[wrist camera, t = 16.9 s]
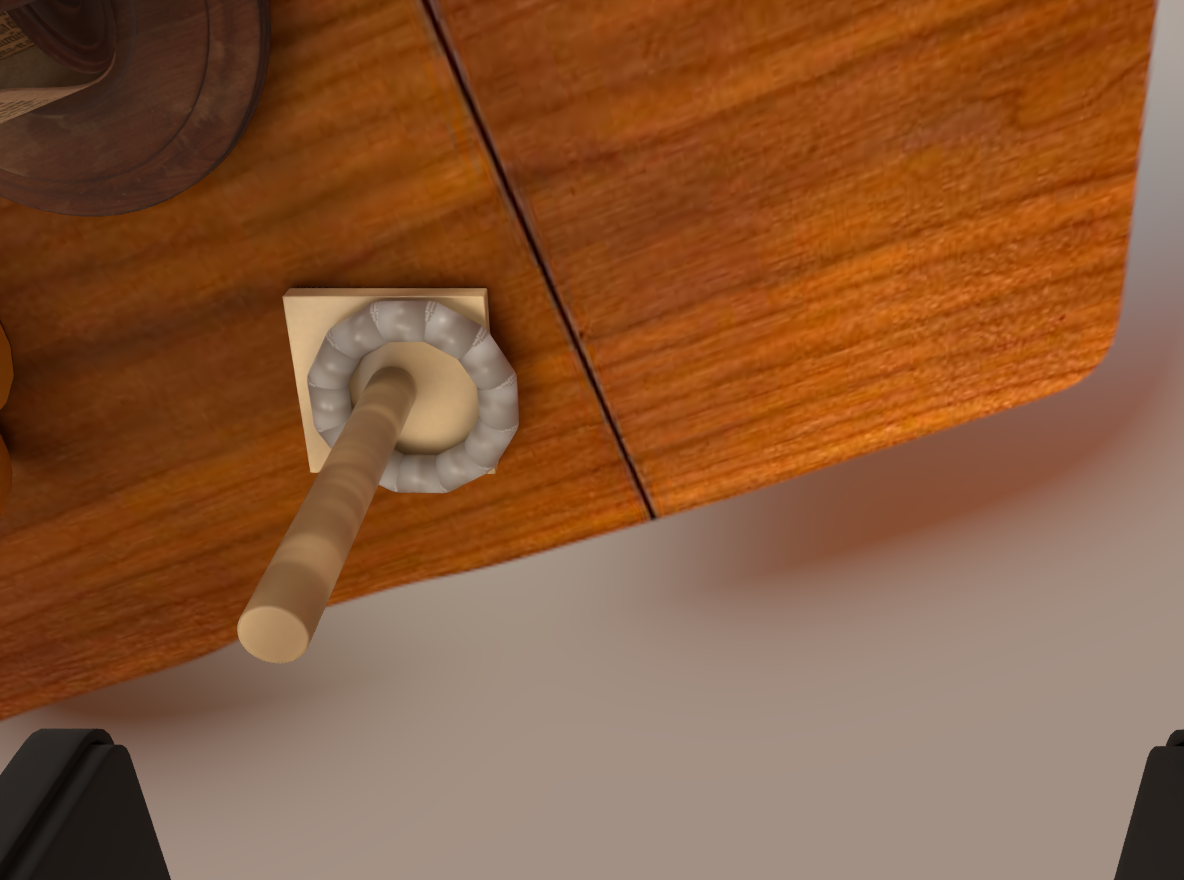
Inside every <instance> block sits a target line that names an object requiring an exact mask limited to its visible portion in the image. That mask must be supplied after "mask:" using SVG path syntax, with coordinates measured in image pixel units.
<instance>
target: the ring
mask: <svg viewBox="0 0 1184 880" xmlns="http://www.w3.org/2000/svg"><path fill="white" fill-rule="evenodd" d="M388 342H425V343H427V344H429V345H431V346H433V347H435V348H437V349H439V350H441V351H443V352H445V353H447V354H449V355H450V356H452V357H454V358H456V359H458V361H459V362H460V363H461V365H462V366H463V368H464V369H465V371H466V372H467V373H468V375H469V376H470V378H471V379H472V381H473V382H474V383H475V385H476V386H477V393H478V407H479V418H478V419H477V421H476V423H475V425H474V426H473V428H472V430H471V432H470V433H469V435H468V437H467V439H466V440H465V441H464V442H462V443H460V444H458V445H456V446H454V447H452V448H450V449H448V450H446V451H445V452H443V453H441V454H439V455H414V454H403V453H401V452H399V451H397V450H395V449H394V450H393V452H392V454H391V457H390V459H389V461H388V464H387V466H386V468H385V471H384V473H383V475H382V477H381V480H380V482H379V485H381V486H383V487H385V488H387V489H389V490H391V491H394V492H398V493H447V492H451V491H453V490H455V489H457V488H459V487H461V486H463V485H464V484H466V483H468V482H470V481H472V480H474V479H476V478H478V477H480V476H482V475H484V474H486V473H488V472H490V471H491V470H492V469H493V468H494V467H495V466H496V464H497V463H498V461H499V459H500V458H501V456H502V454H503V453H504V451H505V449H506V448H507V446H508V444H509V443H510V441H511V439H512V438H513V436H514V434H515V433H516V431H517V429H518V426H519V408H518V389H517V376H516V373H515V371H514V369H513V367H512V366H511V365H510V363H509V362H508V360H507V359H506V357H505V356H504V354H503V353H502V351H501V350H500V348H499V347H498V345H497V344H496V342H495V341H494V339H493V338H492V337H491V335H490V334H489V332H488V331H487V330H486V328H484V327H483V326H481V325H480V324H478V323H476V322H474V321H472V320H470V319H468V318H466V317H464V316H463V315H461V314H459V313H457V312H455V311H453V310H451V309H449V308H447V307H445V306H444V305H442V304H440V303H438V302H435V301H376V302H373V303H372V304H370V305H368V306H366V307H365V308H363V309H361V310H360V311H358V312H356V313H354V314H353V315H351V316H349V317H348V318H346V319H344V320H343V321H341V322H339V323H337V324H336V325H334V326H333V327H331V328H330V329H329V330H328V332H327V334H326V336H325V338H324V340H323V342H322V344H321V346H320V349H319V351H318V353H317V355H316V357H315V359H314V361H313V363H312V365H311V368H310V370H309V372H308V375H307V383H308V390H309V396H310V403H311V409H312V416H313V422H314V426H315V429H316V430H317V432H318V433H319V434H320V436H321V437H322V438H323V439H324V441H325V442H326V443H327V445H328V446H329V447H330V448H331V450H332V448H333V446H334V444H335V442H336V441H337V439H338V437H339V435H340V433H341V431H342V429H343V428H344V426H345V424H346V422H347V420H348V418H349V417H350V415H351V413H352V411H353V410H352V403H351V395H350V388H349V382H350V380H351V378H352V376H353V374H354V372H355V370H356V368H357V366H358V364H359V362H360V360H361V358H362V357H363V356H365V355H367V354H369V353H370V352H372V351H374V350H376V349H377V348H379V347H381V346H383V345H384V344H386V343H388Z"/></svg>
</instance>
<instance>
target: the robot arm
mask: <svg viewBox="0 0 1184 880" xmlns="http://www.w3.org/2000/svg"><path fill="white" fill-rule="evenodd" d="M0 880H171V879H170V875H169V872H168V869H167V866H166V863H165V860H164V857H163V854H162V851H161V848H160V845H159V842H158V839H157V836H156V833H155V830H154V827H153V824H152V821H151V818H150V814H149V811H148V808H147V806H146V802H145V799H144V796H143V793H142V791H141V787H140V784H139V781H138V778H137V775H136V772H135V769H134V766H133V763H132V760H131V757H130V754H129V752H128V750H127V748H125V747H124V746H123V745H114V742H113V740H112V738H111V736H110V734H109V733H107V732H106V731H105V730H103V729H40V730H38V731H36V732H34V733H32V734H31V735H30V736H29V738H28V739H27V740H26V741H25V742H24V743H23V745H22V746H21V747H20V749H19V750H18V752H17V753H16V754H15V756H14V757H13V758H12V760H11V761H10V763H9V764H8V765H7V767H6V768H5V769H4V771H3V772H2V774H1V775H0ZM1114 880H1184V730H1176V731H1174V732H1173V733H1172V734H1171V735H1170V737H1169V739H1168V741H1167V744H1166V746H1158V747H1157V746H1156V747H1154V748H1153V749H1152V750H1151V751H1150V753H1149V756H1148V758H1147V762H1146V765H1145V769H1144V773H1143V777H1142V780H1141V784H1140V787H1139V791H1138V795H1137V798H1136V802H1135V806H1134V809H1133V813H1132V816H1131V820H1130V824H1129V828H1128V831H1127V835H1126V838H1125V842H1124V846H1123V849H1122V853H1121V857H1120V860H1119V864H1118V867H1117V872H1116V875H1115V878H1114Z"/></svg>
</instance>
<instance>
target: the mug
mask: <svg viewBox="0 0 1184 880" xmlns="http://www.w3.org/2000/svg"><path fill="white" fill-rule="evenodd" d="M13 377H14V373H13V364H12V355H11V346H10V344H9V342H8V339H7V337H6V335H5V333H4V330H3V328H2V326H1V324H0V410H1V408H2V407H3V406H4V405H5V404H6V402H7V399H8V396H9V392H10V388H11V384H12V381H13ZM11 485H12V468H11V462H10V457H9V452H8V450H7V448H6V445H5V443H4V441H3V438H2V436H1V434H0V519H1V518H2V516H3V515H4V513H5V509H6V506H7V503H8V500H9V497H10V493H11Z"/></svg>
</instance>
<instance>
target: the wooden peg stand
mask: <svg viewBox="0 0 1184 880" xmlns="http://www.w3.org/2000/svg"><path fill="white" fill-rule="evenodd" d="M376 301H435V302H438V303H440V304H442V305H444V306H445V307H447V308H449V309H451V310H453V311H455V312H457V313H459V314H461V315H463V316H464V317H466V318H468V319H470V320H472V321H474V322H476V323H478V324H480V325H481V326H483V327H484V328H486V330H487V331H488V332H489V334H490V325H489V309H488V293H487V289H486V288H290V289H289V290H288V291H287V292H286V293H285V294H284V295H283V303H284V310H285V316H286V322H287V328H288V335H289V341H290V347H291V353H292V360H293V366H294V372H295V378H296V385H297V391H298V397H299V403H300V410H301V416H302V422H303V428H304V435H305V441H306V447H307V453H308V460H309V466H310V472H319V474H318V475H317V477H316V479H315V481H314V483H313V485H312V487H311V488H310V490H309V492H308V494H307V496H306V498H305V499H304V501H303V503H302V505H301V507H300V509H299V510H298V512H297V514H296V516H295V518H294V520H293V521H292V523H291V525H290V527H289V529H288V531H287V533H286V534H285V536H284V538H283V540H282V542H281V544H280V545H279V547H278V549H277V551H276V553H275V555H274V556H273V558H272V560H271V562H270V564H269V566H268V568H267V569H266V571H265V573H264V575H263V577H262V579H261V580H260V582H259V584H258V586H257V588H256V590H255V591H254V593H253V595H252V597H251V599H250V601H249V602H248V604H247V606H246V608H245V610H244V612H243V614H242V615H241V617H240V619H239V622H238V626H237V632H238V637H239V640H240V642H241V644H242V645H243V646H244V648H245V649H246V650H247V651H248V652H249V653H251V654H252V655H253V656H255V657H257V658H259V659H261V660H264V661H267V662H271V663H287V662H291V661H293V660H295V659H297V658H299V657H300V656H301V655H303V653H304V652H305V651H306V650H307V648H308V646H309V643H310V641H311V639H312V636H313V634H314V632H315V630H316V627H317V625H318V623H319V620H320V618H321V616H322V614H323V611H324V609H325V607H326V604H327V602H328V600H329V597H330V595H331V593H332V591H333V588H334V586H335V584H336V581H337V579H338V577H339V574H340V572H341V570H342V567H343V565H344V563H345V561H346V558H347V556H348V554H349V551H350V549H351V547H352V544H353V542H354V540H355V537H356V535H357V533H358V531H359V528H360V526H361V524H362V521H363V519H364V517H365V514H366V512H367V510H368V507H369V505H370V503H371V501H372V498H373V496H374V494H375V491H376V489H377V487H378V484H379V482H380V480H381V477H382V475H383V473H384V471H385V468H386V466H387V464H388V461H389V459H390V457H391V454H392V452H393V450H394V449H395V450H397V451H399V452H401V453H403V454H414V455H439V454H441V453H443V452H445V451H446V450H448V449H450V448H452V447H454V446H456V445H458V444H460V443H462V442H464V441H465V440H466V439H467V437H468V435H469V433H470V432H471V430H472V428H473V426H474V425H475V423H476V421H477V419H478V418H479V407H478V393H477V386H476V385H475V383H474V382H473V381H472V379H471V378H470V376H469V375H468V373H467V372H466V371H465V369H464V368H463V366H462V365H461V363H460V362H459V361H458V359H456V358H454V357H452V356H450V355H449V354H447V353H445V352H443V351H441V350H439V349H437V348H435V347H433V346H431V345H429V344H427V343H425V342H388V343H386V344H384V345H383V346H381V347H379V348H377V349H376V350H374V351H372V352H370V353H369V354H367V355H365V356H363V357H362V358H361V360H360V362H359V364H358V366H357V368H356V370H355V372H354V374H353V376H352V378H351V380H350V382H349V388H350V395H351V403H352V410H353V411H352V413H351V415H350V417H349V418H348V420H347V422H346V424H345V426H344V428H343V429H342V431H341V433H340V435H339V437H338V439H337V441H336V442H335V444H334V446H333V448H332V450H331V448H330V447H329V446H328V445H327V443H326V442H325V441H324V439H323V438H322V437H321V436H320V434H319V433H318V432H317V430H316V429H315V426H314V422H313V416H312V409H311V403H310V396H309V390H308V383H307V375H308V372H309V370H310V368H311V365H312V363H313V361H314V359H315V357H316V355H317V353H318V351H319V349H320V346H321V344H322V342H323V340H324V338H325V336H326V334H327V332H328V330H329V329H330V328H331V327H333V326H334V325H336V324H337V323H339V322H341V321H343V320H344V319H346V318H348V317H349V316H351V315H353V314H354V313H356V312H358V311H360V310H361V309H363V308H365V307H366V306H368V305H370V304H372V303H373V302H376ZM497 465H498V463H497V464H496V466H495V467H494V468H493V469H492V470H491V471H490V472H488V473H486V474H495V473H496V469H497Z"/></svg>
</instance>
